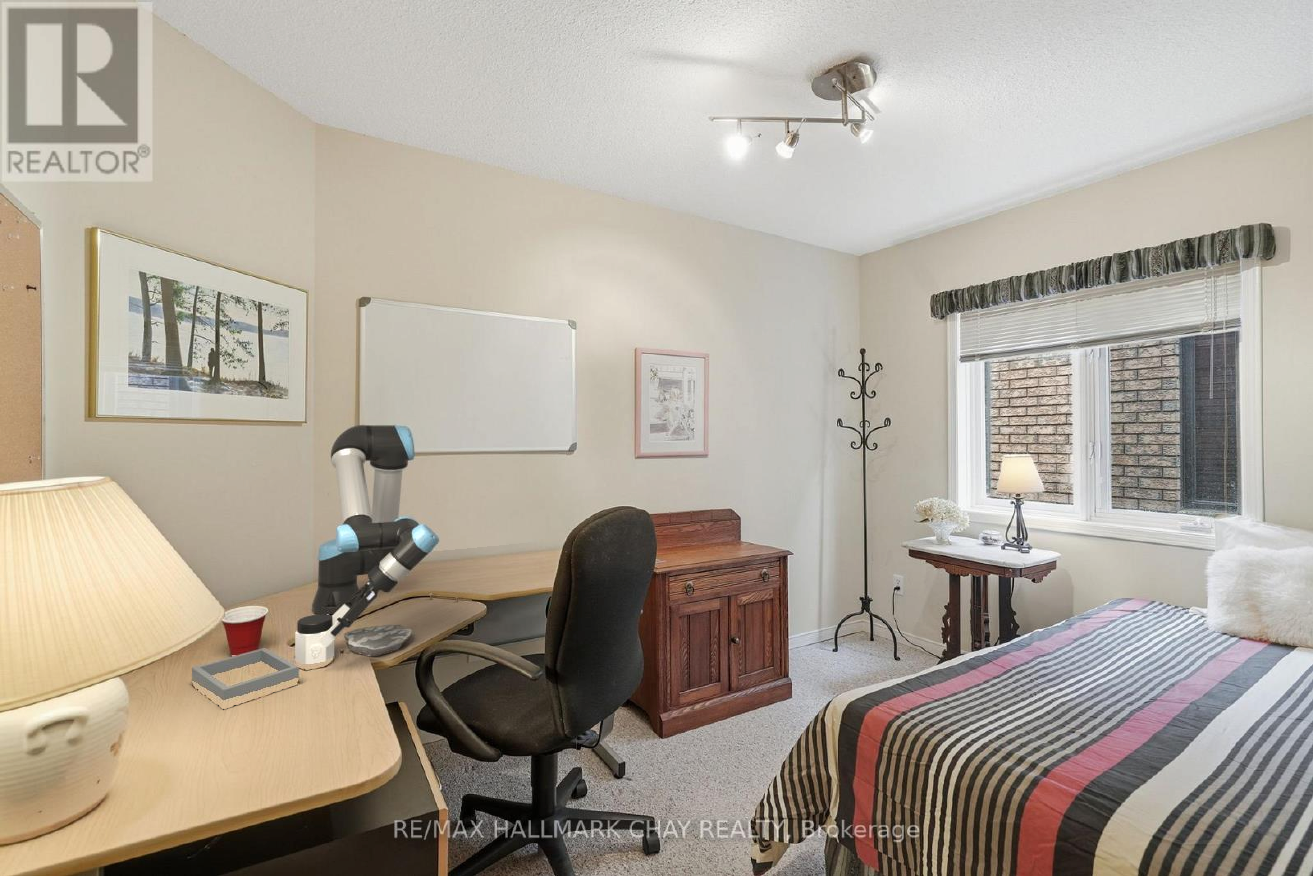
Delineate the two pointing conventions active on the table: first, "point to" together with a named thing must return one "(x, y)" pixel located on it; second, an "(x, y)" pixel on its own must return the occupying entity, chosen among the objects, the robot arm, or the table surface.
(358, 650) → the grey stone slab
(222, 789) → the table surface
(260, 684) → the bin
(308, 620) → the jar
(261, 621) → the plastic cup
